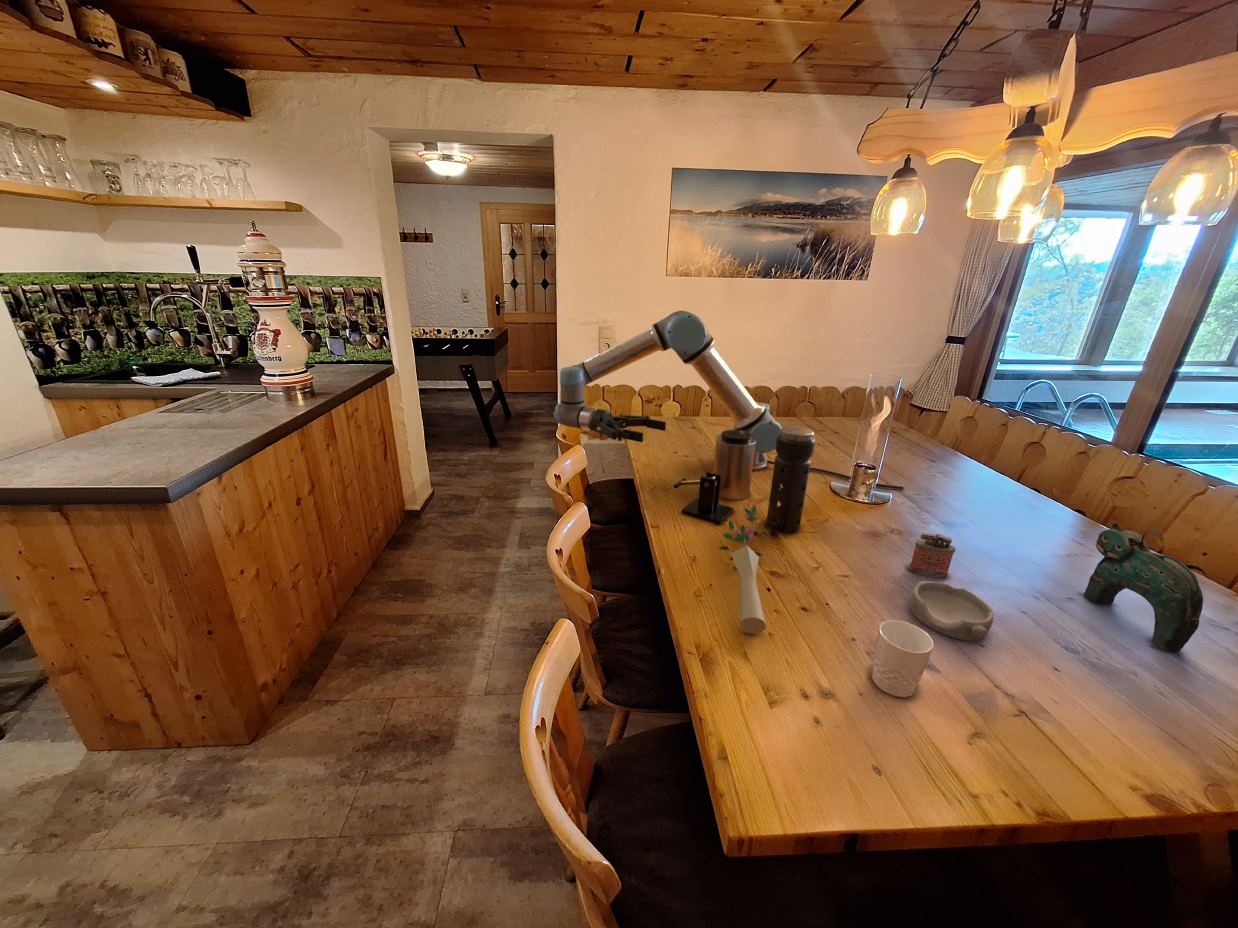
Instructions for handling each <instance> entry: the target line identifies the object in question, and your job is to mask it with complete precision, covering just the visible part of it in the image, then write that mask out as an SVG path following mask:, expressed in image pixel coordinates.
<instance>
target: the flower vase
mask: <svg viewBox="0 0 1238 928" xmlns="http://www.w3.org/2000/svg"><path fill="white" fill-rule="evenodd" d="M743 510H744V512H745V515H744V517H745V520H746V521H747V522H749V523H752V529H751V528H749V526H745V525H744V524H742V525H741V526H738V528H737V529H735V528H736V527H735V525H734V522H733V521H732V520H731V519H729V520H728V528H729V530H730V531H733V534H731V533H722V536H723V537H724V538H725V539H727V540H729V541H731V540H732V541H731V543H738V544H739V545H740V546H741V545H742V546H743V547H742V548H740V549H737V550H736V551H734V552H733V551H732V550H731V549H730V548H729V547H728V546H727V545H723V546H720V547H718V550H724V551H731V553H730V557H729V560H730V561H733V563H734V565H735V568H736V570H737V575H738V580H739V581H738V582H739V607H740V608H739V610H740V611H739V612H740V613H739V617H740V618H739V628H740V629H741V630H742V632H744V633H747V634H753V635H756V634H759V633H763V631H764V630H765V629H766V626H767V623H766V619H765V616H764V611H763V608H762V607H763V606H762V604H761V599H760V595H759V594H760V593H759V590H758V584H757V573H758V568H759V561H760V557H762V556H764V554H763V553H761V552H760V551H754V550H753V549H752V548H751V547H750V546H749V545H750V542H751V543H754V541H755V536H753V535H755V532H758V533H761V535H763V536H764V537H767V538H772V537H771V534H770V533H769V532H768V531H766V530H763V531H761V528H762V527H764V526H766V524H762V525H760V527H759V530H755V522H757V521H758V518H759V517H758V512H757V507H756V504H754V505H753V506H752V507H751V509H749V508H746V507H743ZM734 529H735V531H734Z"/></svg>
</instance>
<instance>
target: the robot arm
mask: <svg viewBox="0 0 1238 928" xmlns="http://www.w3.org/2000/svg"><path fill="white" fill-rule="evenodd" d="M714 345H715V339H714V337H713V336H712V334H711V333H710V332H709V330H708V329H707V328H706V324H705V322H704V321H703V320H702V319H701V318H700V317H699V316H698V315H696V314H694V313H692V312H689V311H686V310H677V311H674V312H672V313H670V314H669V315H667V316H666V317H664V318H662V319H660V320H659V321H657V322H655V323H653V324H651V326H650V329H648V330H646V331H644V332H641V333H640V334H637V335H636V336H633V337H631V338H629V339H627V340H625V341H623V342H621V343H619V344H617V345H615V346H613V347H610V348H608V349H607V350H604V351H602V352H601V353H598V354H597V355H595V356H592V357H590V358H588V359H586V360H584V361H581V362H580V363H578V364H574V365H571V366H565V367H562V368H561V369H560V371H559V385H560V386H559V387H560V402H559V403H557V404H556V405H555V407H554V411H553V418H554V421H555V422H556V423H557V424H559V425H562V426H565V427H567V428H568V427H569V428H575V429H581V430H585V431H587V432H588V433H591V432H594V433H598V434H602V435H604V436H606V437H608V438H609V439H611V440H613V441H615V440H617V441H618V442H622V441H623V440H629V441H633V442H638V443H644V432H641V431H636V430H631V429H627V428H629V427H630V428H631V427H645V428H648V429H652V430H658V431H664V432H665V431H666V427H667V422H666V421H663V420H658V419H653V418H651V417H650V416H649V415H628V414H627V415H626V414H619V416H618V415H615V416H613V415H612V413H611V411H610V410H607V409H602V408H597V407H591V406H585V396H584V395H585V386H587V385H589V384H591V383H593V382H595V381H597V380H599V379H601V378H604V377H605V376H608V375H610V374H612V373H614V372H616V371H618V370H621V369H623V368H624V367H626V366H629V365H631V364H633V363H635V362H638V361H639V360H641V359H644V358H646V357H648V356H650V355H652V354H654V353H656V352H658V351H661V352H666V351H667V350H669V349H671V350H673V351H674V352H675V354H676V355H677V356H678V357H679V358H680V360H681V362H682V363H683V364H685V365H691V367H692V368H693V369H694V370H695V371H696V372H697V374H698V375H699V376H700V378H701V379H702V380H703V381H704V382H705V384H706V385H707V386H708V388H709V389H710V390H711V392H712V393H713V394H714V396H715V397H716V398H717V399H718V400H719V402H720V403H721V404H722V405H723V407H724V408H725V409H726V411H727V412H728V413H729V414H730V416H731V417H732V418H733V428H732V430H741V431H745V432H748V433H750V434H751V437H753V438H754V439H755V440H756V443H755V452H754V460H753V468H752V471H761V470H763V469H766V468H767V467H768V464H770V465H773V466H774V463H775V461H772V460H768V455H767V453H771V452H773V451H774V450H776V449H775V448H776V441H777V436H778V434H779V433H781V428H782V425H781V424H780V423H779V422H778V421H776V419H775V418H774V417H773V416H772V414H771V413H770V404H768V403H765V402H758V401H755V400H754V398H753V397H752V396H751V394H750V393H749V392H748V390H747V389H746V388H745V387H744V385H743V384H742V383H741V381H740V380H739V379H738V377H737V376H736V375H735V373H734V372H733V371H732V370H731V368H730V367H729V366H728V364H727V363H726V361H724V359H723V357H722V356H721V354H720V353H719V352H718V351H717V349H716V348H715V347H714ZM809 471H815V472H819V473H820V472H821V473H825V474H829V475H833V476H836V477H840V478H844V479H847V480H851V477H852V476H849V475H845V474H843V473H840V472H835V471H831V470H826V469H822V468H817V467H810V469H809ZM876 483H877V484H876V485H875V487H881V488H887V489H895V490H896V489H897V490H904V486H903V485H892V484H891V485H890V484H884V483H878V482H876Z"/></svg>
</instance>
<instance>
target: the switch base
mask: <svg viewBox="0 0 1238 928" xmlns="http://www.w3.org/2000/svg"><path fill="white" fill-rule="evenodd" d="M711 476H716V479H713V478H709V477H711ZM721 477H722V475H720V474H716V473H713V471H706V473H705V475H701V476H700V477H699V480H700V484H699V491H698V497H696V498H695V499H693V500H692V501H691V502H690V503H688V504H687V505H686V506H685V507H683V508H682V509H681V514H682V515H685V516H688V517H691V518H694V519H699V520H701V521H705V522H708V523H712V524H715V525H718V526H721V525H722V524H723V523H724V522H725V521H726V520H727V519H728V518H729V517H730V516H731V515H732V514H733V513H734V512H735V511H734V509H735V508H734V507H732V506H728V505H724V504H721V503H720V487H721ZM716 480H717V485H716Z"/></svg>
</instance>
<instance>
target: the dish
mask: <svg viewBox="0 0 1238 928" xmlns="http://www.w3.org/2000/svg"><path fill="white" fill-rule="evenodd" d="M909 602H910V603H909V605H910V610H911V612H912V614H913V615H914V616H915V617H916V618H917V620H919V621H920V622H921V623H922V624H924V625H925V626H927V627H929V628H931V629H933V630H934V631H937V632H938V633H940V634H943V635H946V636H948V637H951V638H953V639H957V640H962V641H978V640H981V639H982V638H985V636H986V635H987V634H988V633H989V631H990V630H991V628H992V626H993V623H994V618H995V617H994V616H995V615H994V611H993V608H992V607H991V606H990V605H989V604H988V603H987V602H986V601H984V600H983V599H982V598H980V597H979V596H977V595H976V594H975V593H973V592H971V591H970V590H968V589H966V588H963V587H961V588H960V587H955V586H952V585H950V584H949V583H946V582H940V581H925V580H920V581H918V582H917V583H916V584H915V586H914V588H913V589H912V592H911V595H910V601H909Z"/></svg>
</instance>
